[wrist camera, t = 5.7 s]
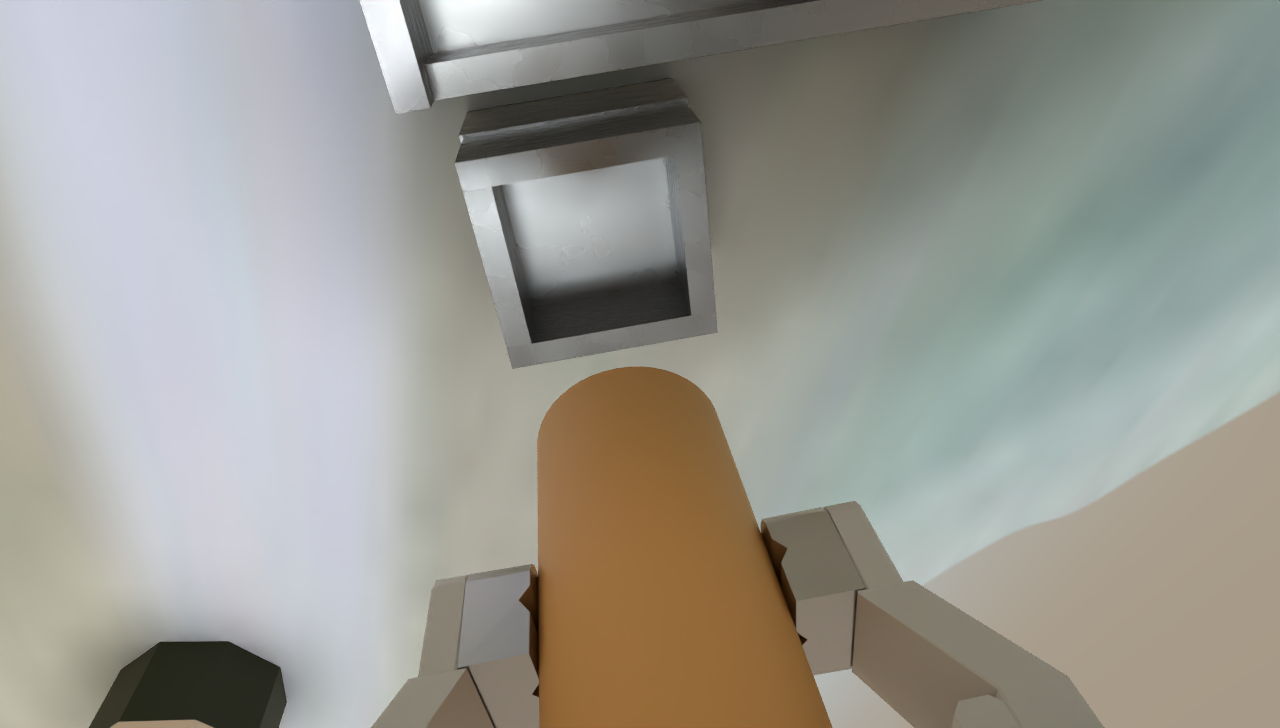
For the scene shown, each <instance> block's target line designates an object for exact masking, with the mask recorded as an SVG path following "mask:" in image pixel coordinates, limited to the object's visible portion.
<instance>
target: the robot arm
mask: <svg viewBox="0 0 1280 728" xmlns="http://www.w3.org/2000/svg"><path fill="white" fill-rule="evenodd" d="M761 535H762V538H763V541H764V543H765V546H766V549H767V552H768V554H769V557H770V560H771V562H772V565H773V568H774V571H775V573H776V576H777V579H778V581H779V584H780V587H781V590H782V592H783V595H784V598H785V600H786V603H787V606H788V609H789V611H790V614H791V617H792V619H793V622H794V625H795V628H796V630H797V633H798V636H799V638H800V641H801V644H802V646H803V649H804V652H805V655H806V657H807V660H808V663H809V665H810V668H811V671H812V674H813V675H817V674H823V673H829V672H835V671H840V670H847V669H852V672H853V673H854V674H856V675H857V676H858V677H859V678H860V679H861V680H862V681H863V682H864V683H865V684H867V685H868V686H869V687H870V688H871V689H872V690H873V691H874V692H875V693H877V694H878V695H879V696H880V697H881V698H882V699H883V700H884V701H886V702H887V703H888V704H889V705H890V706H891V707H892V708H893V709H894V710H895V711H897V712H898V713H899V714H900V715H901V716H902V717H903V718H904V719H906V720H907V721H908V722H909V723H910V724H911V725H912V726H913V727H914V728H1104V727H1103V725H1102V724H1101V722H1100V721H1099V720H1098V718H1097V717H1096V715H1095V714H1094V712H1093V711H1092V710H1091V708H1090V707H1089V705H1088V704H1087V703H1086V701H1085V700H1084V698H1083V697H1082V695H1081V694H1080V693H1079V691H1078V690H1077V688H1076V687H1075V686H1074V684H1073V683H1072V681H1071V680H1070V678H1069V677H1068V676H1067V675H1065V674H1063V673H1062V672H1060V671H1058V670H1057V669H1055V668H1054V667H1052V666H1050V665H1049V664H1047V663H1046V662H1044V661H1042V660H1041V659H1039V658H1038V657H1036V656H1034V655H1033V654H1031V653H1029V652H1028V651H1026V650H1024V649H1023V648H1021V647H1020V646H1018V645H1016V644H1015V643H1013V642H1012V641H1010V640H1008V639H1007V638H1005V637H1003V636H1002V635H1000V634H999V633H997V632H996V631H994V630H992V629H991V628H989V627H987V626H986V625H984V624H983V623H981V622H979V621H978V620H976V619H974V618H973V617H971V616H969V615H968V614H966V613H965V612H963V611H962V610H960V609H958V608H957V607H955V606H954V605H952V604H950V603H948V602H947V601H945V600H944V599H942V598H941V597H939V596H937V595H936V594H934V593H932V592H931V591H929V590H928V589H926V588H924V587H923V586H921V585H920V584H918V583H916V582H915V581H907V582H903V580H902V578H901V577H900V575H899V573H898V571H897V570H896V568H895V566H894V564H893V562H892V561H891V559H890V557H889V555H888V554H887V552H886V550H885V548H884V547H883V545H882V543H881V541H880V539H879V538H878V536H877V534H876V532H875V531H874V529H873V527H872V525H871V523H870V522H869V520H868V518H867V516H866V515H865V513H864V511H863V509H862V508H861V506H860V505H859V504H858V503H857V502H855V501H852V502H847V503H842V504H836V505H831V506H826V507H824V508H822V507H819V508H815V509H810V510H805V511H800V512H795V513H790V514H785V515H780V516H775V517H770V518H765V519H762V521H761ZM371 728H539V611H538V574H537V572H536V569H535V566H534V565H532V564H530V565H524V566H517V567H511V568H505V569H499V570H493V571H487V572H481V573H475V574H469V575H465V576H460V577H454V578H448V579H442V580H436V582H435V584H434V586H433V589H432V591H431V597H430V604H429V610H428V617H427V623H426V630H425V636H424V642H423V649H422V655H421V662H420V668H419V675H418V677H417V678H412V679H408V680H407V682H406V683H405V684H404V686H403V687H402V688H401V689H400V691H399V692H398V693H397V695H396V696H395V697H394V699H393V700H392V701H391V702H390V704H389V705H388V706H387V708H386V709H385V710H384V712H383V713H382V714H381V715H380V717H379V718H378V719H377V721H376V722H375V723H374V725H373V726H372V727H371Z"/></svg>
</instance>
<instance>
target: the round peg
mask: <svg viewBox="0 0 1280 728" xmlns="http://www.w3.org/2000/svg"><path fill="white" fill-rule="evenodd" d="M537 466H538V611H539V728H832V725H831V723H830V720H829V717H828V714H827V712H826V709H825V706H824V703H823V701H822V698H821V695H820V693H819V690H818V687H817V685H816V682H815V679H814V676H813V674H812V671H811V668H810V665H809V663H808V660H807V657H806V655H805V652H804V649H803V646H802V644H801V641H800V638H799V636H798V633H797V630H796V628H795V625H794V622H793V619H792V617H791V614H790V611H789V609H788V606H787V603H786V600H785V598H784V595H783V592H782V590H781V587H780V584H779V581H778V579H777V576H776V573H775V571H774V568H773V565H772V562H771V560H770V557H769V554H768V552H767V549H766V546H765V543H764V541H763V538H762V535H761V533H760V530H759V527H758V524H757V522H756V519H755V516H754V514H753V511H752V508H751V505H750V503H749V500H748V497H747V495H746V492H745V489H744V486H743V484H742V481H741V478H740V476H739V473H738V470H737V468H736V465H735V462H734V459H733V457H732V454H731V451H730V449H729V446H728V443H727V440H726V438H725V435H724V432H723V430H722V427H721V424H720V421H719V419H718V416H717V413H716V411H715V408H714V406H713V405H712V403H711V401H710V400H709V398H708V397H707V396H706V395H705V393H704V392H703V391H702V390H701V389H700V388H698V387H697V386H696V385H695V384H693V383H692V382H690V381H689V380H688V379H686V378H684V377H682V376H680V375H678V374H675V373H672V372H669V371H666V370H662V369H657V368H650V367H624V368H616V369H612V370H608V371H604V372H601V373H598V374H595V375H592V376H590V377H588V378H586V379H584V380H582V381H580V382H579V383H577V384H575V385H574V386H572V387H571V388H569V389H568V390H567V391H566V392H565V393H563V394H562V395H561V396H560V397H559V398H558V399H557V400H556V401H555V402H554V403H553V405H552V406H551V408H550V409H549V410H548V412H547V413H546V415H545V417H544V419H543V421H542V424H541V427H540V430H539V434H538V441H537Z"/></svg>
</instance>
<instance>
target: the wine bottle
mask: <svg viewBox="0 0 1280 728" xmlns="http://www.w3.org/2000/svg"><path fill="white" fill-rule="evenodd" d="M286 703H287V701H286V696H285V691H284V686H283V680H282V675H281V670H280V667H278V666H276V665H274V664H272V663H270V662H268V661H266V660H264V659H262V658H260V657H258V656H256V655H254V654H252V653H250V652H248V651H246V650H244V649H242V648H240V647H238V646H236V645H234V644H231V643H229V642H160V643H158V644H157V645H155V646H154V647H153V648H151V649H150V650H148V651H147V652H146V653H144V654H143V655H141V656H140V657H139V658H137V659H136V660H134V661H133V662H132V663H130V664H129V665H127V666H126V667H124V668H123V669H122V670H120V672H119V674H118V676H117V678H116V680H115V681H114V683H113V685H112V687H111V689H110V690H109V692H108V694H107V696H106V698H105V699H104V701H103V703H102V705H101V707H100V708H99V710H98V712H97V714H96V716H95V718H94V719H93V721H92V723H91V725H90V727H89V728H279V725H280V721H281V718H282V715H283V712H284V709H285V706H286Z"/></svg>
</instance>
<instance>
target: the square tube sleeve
mask: <svg viewBox="0 0 1280 728" xmlns="http://www.w3.org/2000/svg"><path fill="white" fill-rule="evenodd" d="M459 138H460V142H461V146H460V149H459V152H458V155H457V158H456V161H455V166H456V170H457V173H458V177H459V180H460V184H461V187H462V191H463V194H464V198H465V201H466V205H467V209H468V212H469V216H470V219H471V223H472V226H473V230H474V233H475V237H476V241H477V244H478V248H479V251H480V255H481V258H482V262H483V265H484V269H485V272H486V276H487V280H488V283H489V287H490V290H491V294H492V297H493V301H494V304H495V308H496V312H497V315H498V319H499V322H500V326H501V329H502V333H503V336H504V340H505V344H506V347H507V351H508V354H509V358H510V361H511V365H512V368H513V369H514V368H520V367H525V366H531V365H537V364H542V363H548V362H553V361H559V360H565V359H570V358H576V357H582V356H587V355H593V354H599V353H604V352H610V351H615V350H621V349H627V348H632V347H638V346H644V345H649V344H655V343H661V342H666V341H672V340H677V339H683V338H689V337H694V336H700V335H706V334H711V333H717V321H716V308H715V296H714V283H713V270H712V258H711V245H710V233H709V220H708V207H707V195H706V182H705V170H704V157H703V144H702V132H701V122H700V121H699V119H698V118H697V117H696V115H695V114H694V113H693V112H692V110H691V109H690V108H689V107H688V98H687V96H686V95H685V94H684V93H683V91H682V90H681V89H680V88H679V87H678V85H677V84H676V83H675V82H674V80H673V79H672V78H670V79H664V80H658V81H652V82H646V83H640V84H634V85H628V86H622V87H616V88H610V89H604V90H598V91H592V92H586V93H580V94H574V95H568V96H561V97H555V98H549V99H543V100H537V101H531V102H525V103H519V104H513V105H507V106H501V107H495V108H489V109H483V110H477V111H471V112H467V114H466V117H465V120H464V123H463V126H462V128H461V131H460V134H459Z"/></svg>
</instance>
